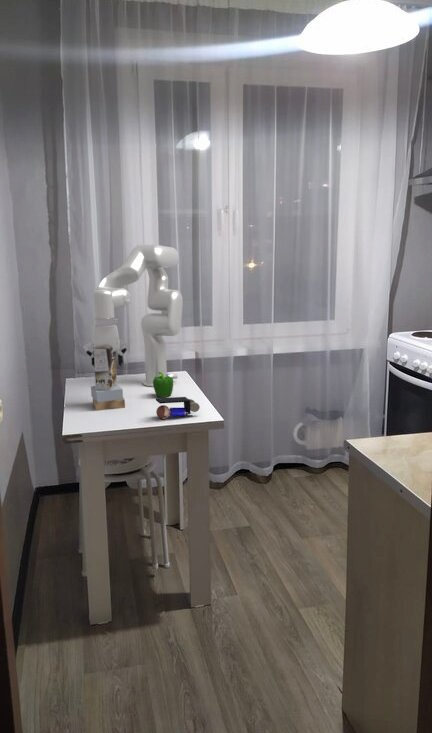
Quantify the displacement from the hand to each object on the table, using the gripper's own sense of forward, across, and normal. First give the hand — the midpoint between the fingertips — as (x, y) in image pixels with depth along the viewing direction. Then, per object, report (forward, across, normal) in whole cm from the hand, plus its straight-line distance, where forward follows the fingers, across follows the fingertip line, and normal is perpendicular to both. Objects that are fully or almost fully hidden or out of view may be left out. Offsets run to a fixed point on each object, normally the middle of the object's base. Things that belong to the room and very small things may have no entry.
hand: (107, 366), depth 225 cm
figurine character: (+16, -22, +24) cm, 36 cm away
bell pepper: (+16, -23, -6) cm, 28 cm away
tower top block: (+12, +1, +1) cm, 12 cm away
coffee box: (+8, +1, +1) cm, 8 cm away
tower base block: (+16, +1, +1) cm, 16 cm away
